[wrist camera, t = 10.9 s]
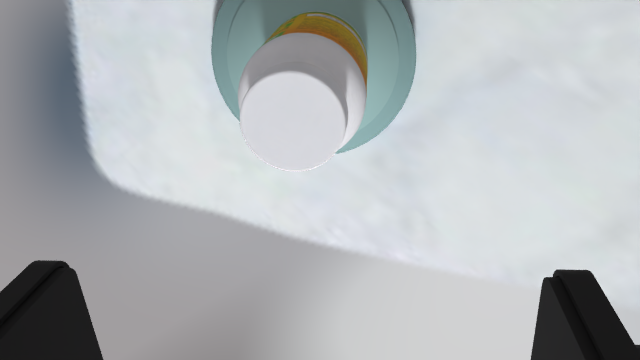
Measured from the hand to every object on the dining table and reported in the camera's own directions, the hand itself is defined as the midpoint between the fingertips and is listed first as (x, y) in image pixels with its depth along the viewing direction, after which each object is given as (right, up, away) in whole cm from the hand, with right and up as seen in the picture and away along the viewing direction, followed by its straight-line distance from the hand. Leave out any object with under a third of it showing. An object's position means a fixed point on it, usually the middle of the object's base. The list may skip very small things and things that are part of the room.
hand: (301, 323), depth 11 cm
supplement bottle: (0, +9, +18) cm, 20 cm away
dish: (0, +10, +18) cm, 21 cm away
